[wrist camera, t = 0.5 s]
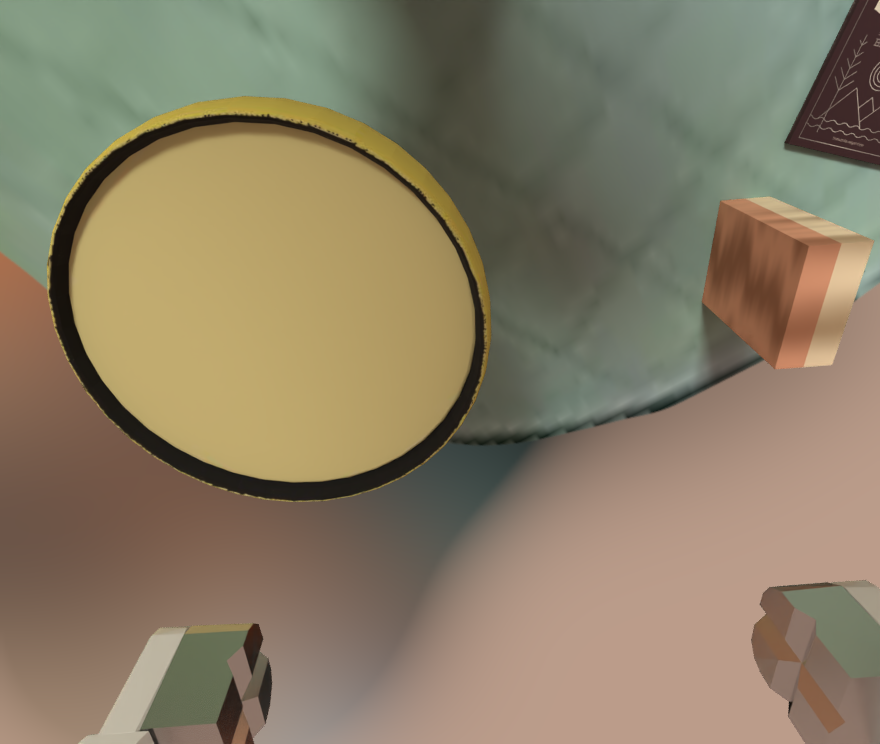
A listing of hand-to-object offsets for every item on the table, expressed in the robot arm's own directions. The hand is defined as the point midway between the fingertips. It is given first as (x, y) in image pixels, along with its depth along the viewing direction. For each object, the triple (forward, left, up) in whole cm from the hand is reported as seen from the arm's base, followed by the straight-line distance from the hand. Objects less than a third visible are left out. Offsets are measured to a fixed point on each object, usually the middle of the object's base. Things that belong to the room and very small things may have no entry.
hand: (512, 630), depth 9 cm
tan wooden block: (+9, +24, -39) cm, 47 cm away
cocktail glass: (+2, -8, -39) cm, 40 cm away
